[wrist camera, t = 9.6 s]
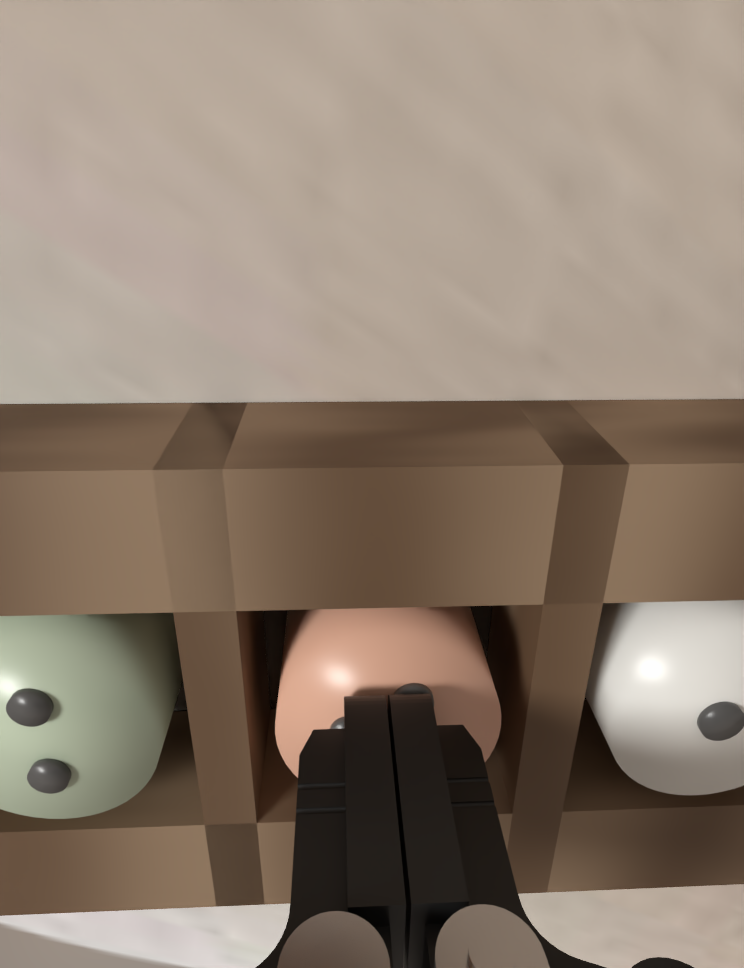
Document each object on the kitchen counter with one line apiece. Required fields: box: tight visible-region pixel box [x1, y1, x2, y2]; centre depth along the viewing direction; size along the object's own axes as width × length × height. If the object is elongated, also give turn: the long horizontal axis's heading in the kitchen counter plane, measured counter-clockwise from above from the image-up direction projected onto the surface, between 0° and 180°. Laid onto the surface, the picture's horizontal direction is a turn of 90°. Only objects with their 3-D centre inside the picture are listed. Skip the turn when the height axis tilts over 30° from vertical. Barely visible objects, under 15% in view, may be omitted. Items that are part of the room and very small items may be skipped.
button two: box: [0, 612, 183, 819], centre depth 13 cm, size 4×4×3 cm
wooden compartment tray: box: [0, 399, 744, 916], centre depth 13 cm, size 19×10×3 cm, turn 90°
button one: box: [585, 600, 744, 795], centre depth 13 cm, size 4×4×3 cm
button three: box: [275, 606, 501, 778], centre depth 13 cm, size 4×4×3 cm
